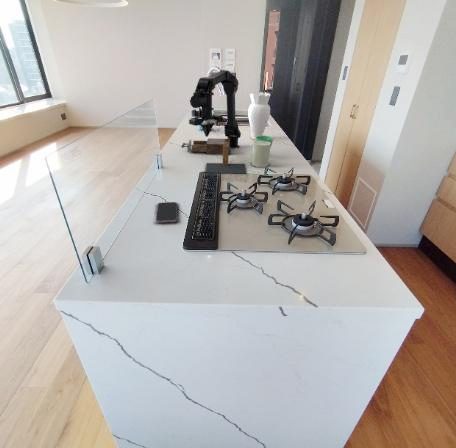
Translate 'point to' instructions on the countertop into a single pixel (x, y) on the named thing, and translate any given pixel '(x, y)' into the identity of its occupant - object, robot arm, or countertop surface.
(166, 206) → the smartphone
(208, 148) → the cabinet
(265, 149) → the can
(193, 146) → the drawer
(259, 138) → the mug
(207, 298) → the countertop surface
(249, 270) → the countertop surface
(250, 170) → the countertop surface
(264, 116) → the vase
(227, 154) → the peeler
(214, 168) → the mat
